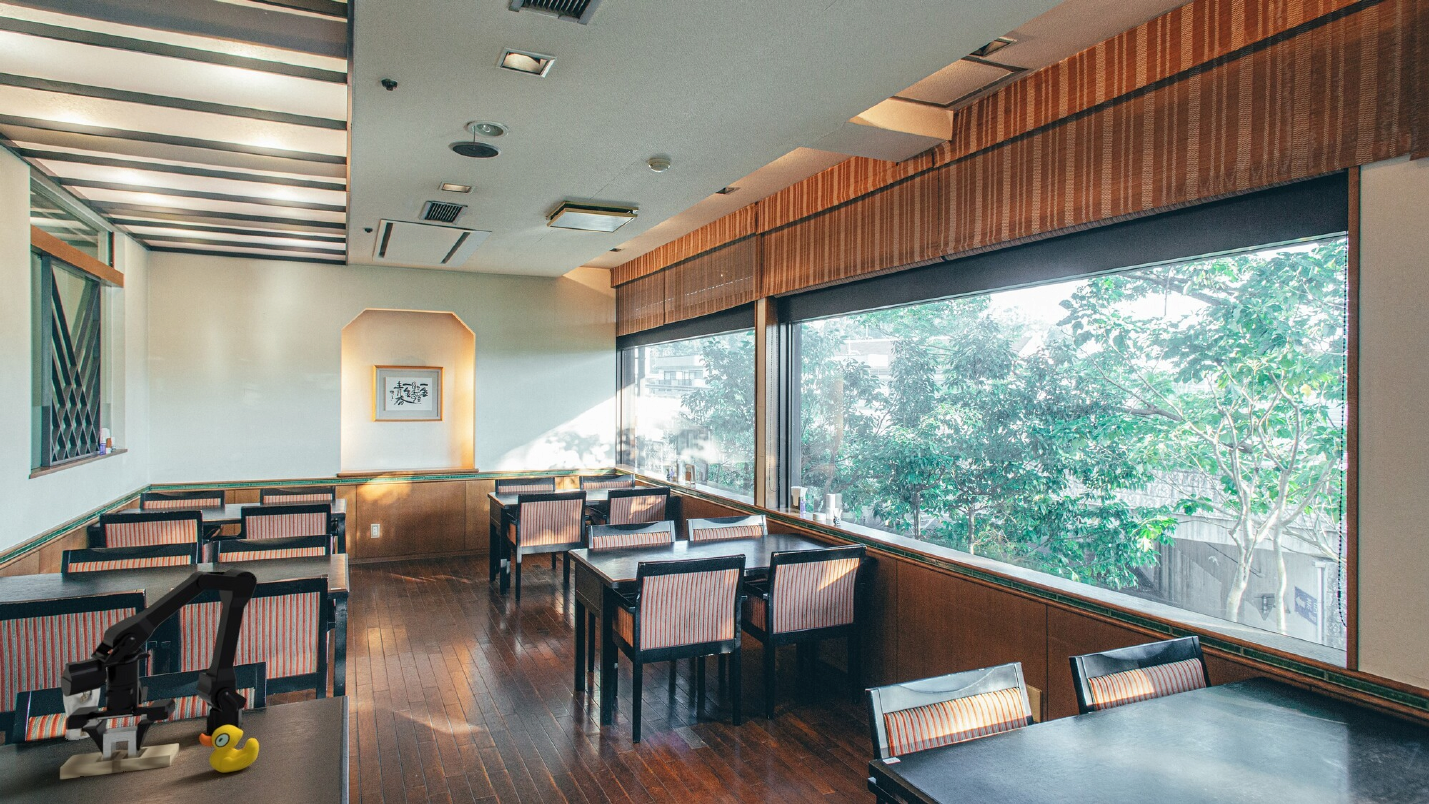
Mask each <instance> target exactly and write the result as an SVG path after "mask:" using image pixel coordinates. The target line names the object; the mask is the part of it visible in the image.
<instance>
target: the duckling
mask: <svg viewBox="0 0 1429 804" xmlns="http://www.w3.org/2000/svg"><path fill="white" fill-rule="evenodd" d="M243 736H244V731H243V730H242V728H241V729H238V728H237V727H235V726H232V725H224V726H221V727H219V728H218V729H216V730H215V731H214V733H213V735H212V737H211V736H207V735H206V734H204V733H201V734H200V735H199V738H198V739H199V741H200V744H201V745H202V746H204V747H210V748H211V747H214V748H213V749H214V750H213V751H212V752H211V754H210V756H209V759H208V760H209V764H210V766H211V768H213V770H216V771H217V772H220V773H223V774H224V773H230V772H231V773H232V772H237V771H240V770H243V769H245V768H247V767H249V766H251V765H252V764H253V763H254V762H255V761H256V759H257V758H258V755H259V750H260V743H259V741H258V740H257V739H256V738H254V737H250V738H249V739H247V740H246V741H245V745H244V747H243V748H240V749H236V748H235V746H237V744H238V743H239V741H240V740H241V739H242V738H243Z"/></svg>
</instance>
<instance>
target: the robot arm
mask: <svg viewBox="0 0 1429 804" xmlns="http://www.w3.org/2000/svg"><path fill="white" fill-rule="evenodd" d="M257 584H258V579H257V577H256V575H255V574H254V573H253V572H251V571H248V570H245V569H241V568H237V567H236V568H235V567H234V568H230V569H227V570H225V571H215V570H214V571H202V570H197V571H195V572H193V573H190V575H189V577H188V578H186V579H185V580H183V581H182V582H180V584H178V585H177V586H175V587H174V588H172V589H171V590H170V591H169V592H167V593H166V594H164V595H163V596H162V597H160V598H159V599H157V600H156V601H154V602H153V603H152V604H151V605H149V606H148V607H147V608H145V609H143V610H141V611H140V612H138V613H136V614H133V615H131V616H128V617H126V618H124V619H122V620H120V621H118V622H117V623H115V624H112V625H111V626H110V627H108V628H107V629H106V630H105V632H104V633H103V638H102V640H101V642H100V643H99V644H98V646H97V647H96V648H95V650H94V651H93V652H91V654H90V657H91V658H88V659H83V660H77V661H70V662H66V663H65V666H64V670H63V671H62V674H61V677H60V688H61V691H62V692H61V693H62V694H64V695H65V696H66V697H68V696H72V695H76V694H80V693H84V692H88V691H91V690H95V689H99V688H100V689H101V687H102V686H105V683H106V687H105V688H106V690H105V691H104V692H103V693H104V695H103V697H104V698H105V702H106V704H105V710H100V709H99V706H90V707H80V708H78V709H77V710H75V711H74V712H73V713H72V714H71V715H70V716H69V717H68V718H67V717H66V721H65V730H71V729H81V728H82V729H81V731H82V732H87V733H88V735H89V736H90V737H89V738H91V739H92V741H93V742H94V743H95V745H96V746H97V748H98V749H99V752H101V753H102V754H103V734H104V733H105V732H106V731H107V723H108V720H113V719H114V720H115V719H125V718H133V717H141V719H140V721H139V722H138V723H136V724H137V725H136V726H137V743H136V746H137V751H139V750H140V749H141V747H143V744H144V741H145V740H146V736H147V733H148V731H149V729H150V727H151V726H153V724H155V722H157V721H165V720H167V719H170V717H171V716H172V714H173V713H174V712H175V711H176V710H177V709H176V701H175V700H174V699H173V698H165V699H164V698H163V699H155V700H154V701H153V702H152V703H150V705H145V706H139V705H142V704H143V703H144V702H146V701H147V699H148V698H147V697H148V690H149V687H148V686H142V683H141V680H140V660H144V659H149V658H150V657H151V653H148V652H146V651H145V650H144V649H143V648H142V646H143V645H144V644H145V643H146V642H147V641H148V640H149V639H150V638H151V636H152V635H153V633H154V631H155V630H156V629H157V628H158V627H159V626H160V625H161V624H162V623H164V622H165V621H166V620H167V619H169V618H170V617H172V616H173V615H174V614H176V613H177V612H178V611H179V610H181V609H182V608H183V607H185V606H186V605H188V604H189V603H191V601H192V600H194V599H195V598H196V597H198V596H199V595H201V594H203V592H204V591H206V590H213V591H219V598H220V601H221V607H222V608H221V611H220V613H221V614H220V618H219V622H218V628H217V633H216V638H215V642H214V643H215V644H214V646H213V647H214V649H213V653H212V659H211V663H210V666H209V668H208V669H206V671H205V672H199V674H198V683H197V686H196V687H195V691H197V695H198V697H199V698H200V699H201V700H202V701H204V702H205V703H206V705H207V706H208V707H211V708H210V709H209V711H208V712H209V713H208V715H207V716H206V734H207V735H206V736H211V737H212V735H213V733H214V731H215V730H216V729H218V728H219V727H221V726H224V725H232V726H235V727H237V728H238V729H241V730H242V728H243V726H244V722H243V719H242V715H243V714H242V713H243V709H244V708H245V706H246V703H247V700H248V698H246V697H244V696H243V695H241V694H239V693H238V692H237V676H236V673H235V668H234V666H235V665H234V664H235V661H236V660H235V658H236V653H237V647H238V644H239V637H240V633H241V628H242V623H243V617H244V610H245V607H246V606H247V605H248V603H249V602H250V600H251V599H252V598H253V596H254V593H255V590H256V587H257ZM110 651H111V652H110ZM109 652H110V653H109Z"/></svg>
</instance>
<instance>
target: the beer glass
mask: <svg viewBox="0 0 1429 804" xmlns="http://www.w3.org/2000/svg"><path fill="white" fill-rule="evenodd" d="M62 694H63V693H62ZM100 696H101V687H100V688H99V689H95V690H91V691H88V692H84V693H80V694H76V695H72V696H68V697H66V696H65V695H64V694H63V695H62V698H63V699H62V700H63V705H64V711H65V715H66V719H67V718H68V717H69V716H70V715H71V714H72V713H73V712H74V711H75V710H77V709H78V708H80V707H90V706H97V707H99V706H98V705H99V700H100ZM81 729H82V728H81ZM81 729H71V730H67V729H65V734H64V735H65V736H64V739H65V738H66V739H65V740H67V739H68V740H67V741H80V740H84V739H87V738H91V737H90V736H89V735H88V733H87V732H82V731H81ZM79 739H80V740H79Z"/></svg>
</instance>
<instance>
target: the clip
mask: <svg viewBox="0 0 1429 804" xmlns="http://www.w3.org/2000/svg"><path fill="white" fill-rule="evenodd" d="M126 741H128V742H127V744H128V745H127V749H128V759H130V758H138V756H139V755H140V750H139V751H137V746H136V743H137V725H132V726H130V725H129V726H122V727H113V728H111V727H110V728H107V729H106V732H105V733H104V734H103V762H104V761H113V760H114V758H115V757H116V750H117V742H126Z"/></svg>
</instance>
